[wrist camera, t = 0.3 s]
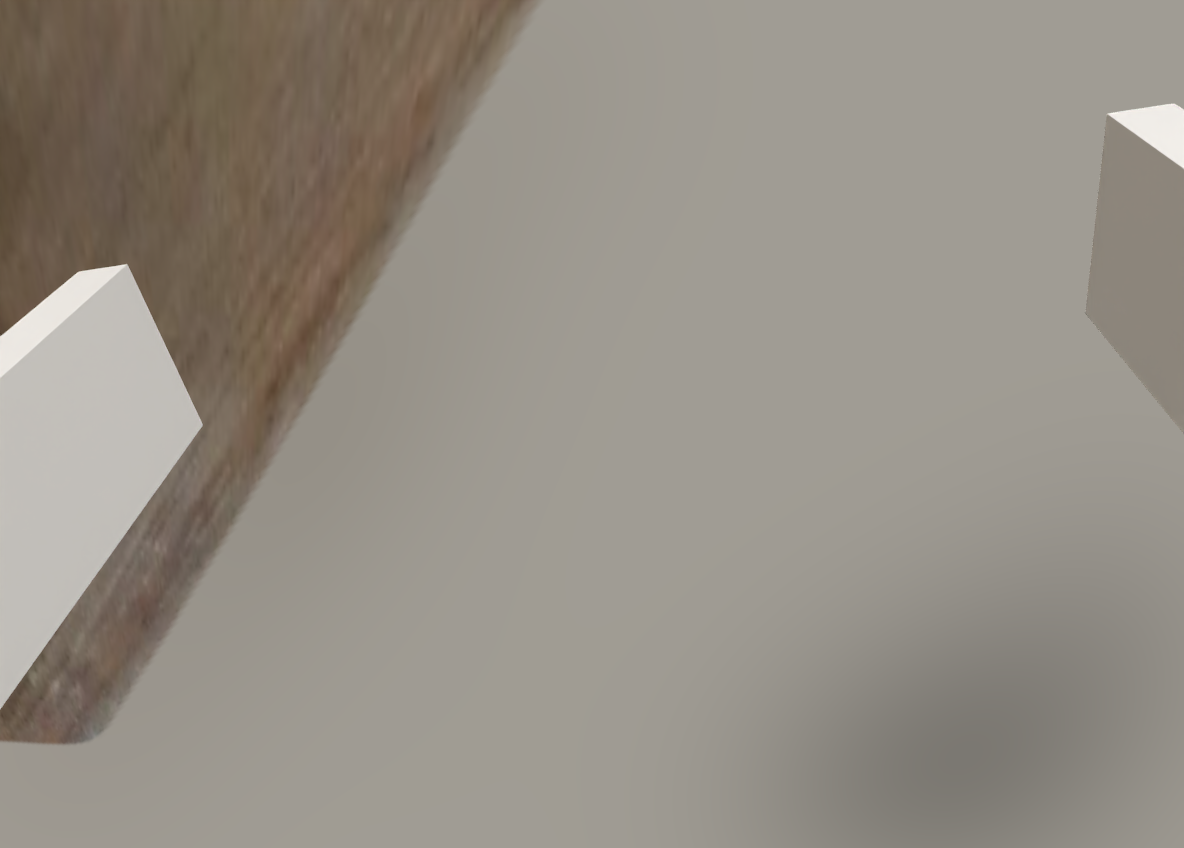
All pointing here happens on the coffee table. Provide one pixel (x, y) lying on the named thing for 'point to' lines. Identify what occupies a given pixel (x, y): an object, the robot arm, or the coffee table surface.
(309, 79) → the coffee table surface
